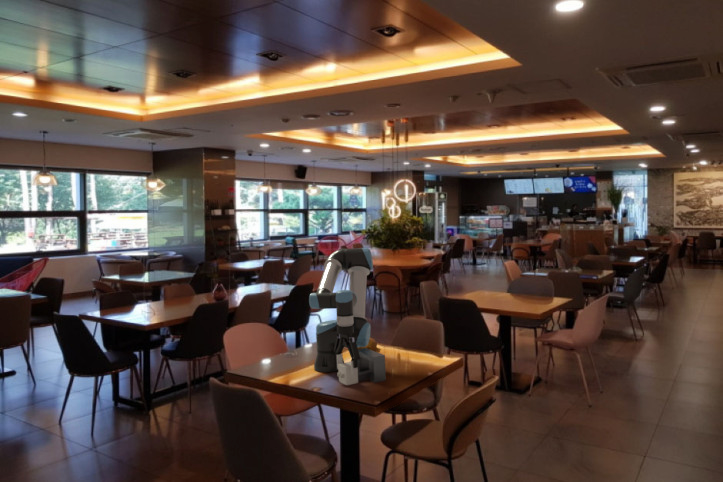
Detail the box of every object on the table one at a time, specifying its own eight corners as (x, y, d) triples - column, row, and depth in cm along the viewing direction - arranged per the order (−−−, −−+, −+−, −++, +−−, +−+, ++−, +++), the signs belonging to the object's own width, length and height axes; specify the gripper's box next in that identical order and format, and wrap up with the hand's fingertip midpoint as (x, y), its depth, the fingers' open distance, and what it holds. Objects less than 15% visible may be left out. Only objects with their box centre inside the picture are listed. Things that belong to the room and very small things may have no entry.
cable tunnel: (355, 374, 257) (354, 350, 256) (366, 371, 260) (365, 348, 259) (374, 382, 242) (373, 357, 242) (385, 380, 245) (384, 355, 245)
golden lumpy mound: (376, 349, 311) (376, 335, 312) (377, 352, 296) (377, 338, 297) (351, 350, 311) (351, 336, 312) (351, 353, 296) (351, 338, 297)
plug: (335, 382, 246) (335, 364, 245) (379, 372, 258) (378, 356, 257) (343, 386, 240) (342, 368, 239) (387, 376, 252) (386, 359, 251)
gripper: (325, 322, 253) (327, 367, 253) (351, 329, 231) (353, 379, 232) (339, 320, 256) (341, 364, 257) (366, 327, 235) (368, 376, 236)
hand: (347, 371), depth 244 cm, fingers open, 13 cm apart
